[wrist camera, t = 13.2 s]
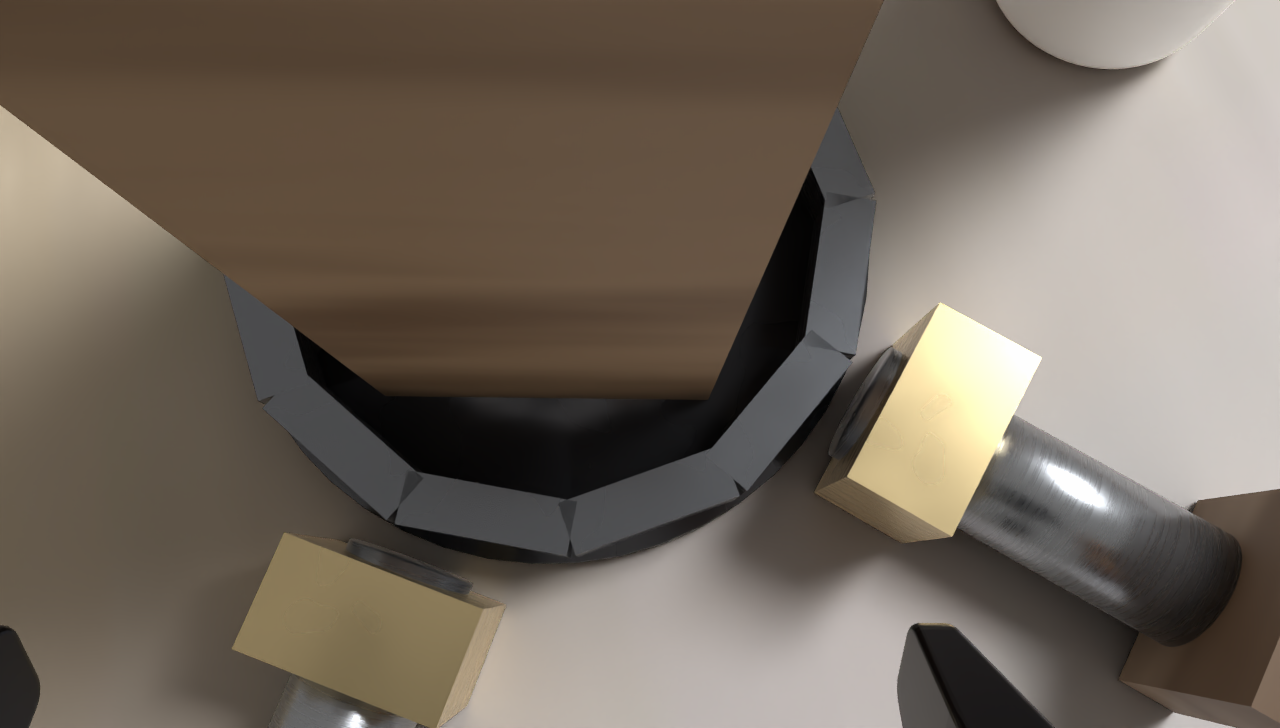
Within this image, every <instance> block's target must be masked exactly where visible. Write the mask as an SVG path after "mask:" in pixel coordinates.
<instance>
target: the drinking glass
mask: <svg viewBox="0 0 1280 728" xmlns="http://www.w3.org/2000/svg"><path fill="white" fill-rule="evenodd" d="M1235 1H1236V0H996V2H997V3H998V5H999V7H1000V9H1001V10H1002V12H1003V14H1004V15H1005V17H1006V18H1007V19H1008V20H1009V22H1010V23H1011V24H1012V25H1013V26H1014V27H1015V29H1016V30H1017V31H1018V32H1019V33H1020V34H1022V35H1023V36H1024V37H1025V38H1026V39H1027V40H1028V41H1030V42H1031V43H1033V44H1034V45H1035V46H1037V47H1038V48H1040V49H1041V50H1043V51H1045V52H1046V53H1048V54H1050V55H1052V56H1054V57H1056V58H1059V59H1061V60H1064V61H1066V62H1070V63H1073V64H1076V65H1080V66H1085V67H1090V68H1098V69H1125V68H1132V67H1138V66H1142V65H1146V64H1150V63H1152V62H1155V61H1158V60H1161V59H1163V58H1165V57H1167V56H1169V55H1171V54H1173V53H1175V52H1177V51H1178V50H1180V49H1182V48H1183V47H1185V46H1186V45H1187V44H1189V43H1190V42H1191V41H1193V40H1194V39H1195V38H1197V37H1198V36H1199V35H1200V34H1201V33H1202V32H1203V31H1204V30H1205V29H1206V28H1208V27H1209V26H1210V25H1211V24H1212V23H1213V22H1214V21H1215V20H1216V19H1217V18H1218V17H1219V16H1220V15H1221V14H1222V13H1223V12H1224V11H1225V10H1226V9H1227V8H1228V7H1230V6H1231V5H1232V4H1233V3H1234V2H1235Z"/></svg>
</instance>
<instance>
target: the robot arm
mask: <svg viewBox="0 0 1280 728" xmlns="http://www.w3.org/2000/svg"><path fill="white" fill-rule="evenodd" d="M897 694H898V703H899V709H900V715H901V720H902V726H903V728H1055V727H1054V726H1053V725H1052V724H1051V723H1050V722H1049V721H1048V720H1047V719H1046V718H1045V717H1044V716H1043V715H1042V714H1041V713H1040V712H1039V711H1038V710H1037V709H1036V708H1035V707H1034V706H1033V705H1032V704H1031V703H1030V702H1029V701H1028V700H1027V699H1026V698H1025V697H1024V696H1023V695H1022V694H1021V693H1020V692H1019V691H1018V690H1017V689H1016V688H1015V687H1014V686H1013V685H1012V684H1011V683H1010V682H1009V681H1008V680H1007V678H1006V677H1005V676H1004V675H1003V674H1002V673H1001V672H1000V671H999V670H998V669H997V668H996V667H995V666H994V665H993V664H992V663H991V662H990V661H989V660H988V659H987V658H986V657H985V656H984V655H983V654H982V653H981V652H980V651H979V650H978V649H977V648H976V647H975V646H974V645H973V644H972V643H971V642H970V641H969V640H968V639H967V638H966V637H965V636H964V635H963V634H962V633H961V632H960V631H959V630H958V629H957V628H956V627H954V626H952V625H950V624H946V623H917V624H914V625H912V626H911V627H910V629H909V631H908V633H907V637H906V642H905V646H904V651H903V656H902V660H901V665H900V670H899V674H898V680H897ZM39 696H40V682H39V678H38V675H37V673H36V671H35V669H34V667H33V665H32V663H31V661H30V659H29V657H28V655H27V653H26V651H25V649H24V647H23V645H22V643H21V641H20V639H19V637H18V635H17V633H16V632H15V631H14V630H13V629H12V628H10V627H9V626H4V625H0V728H29V726H30V723H31V720H32V718H33V715H34V713H35V710H36V708H37V705H38V701H39Z"/></svg>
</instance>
